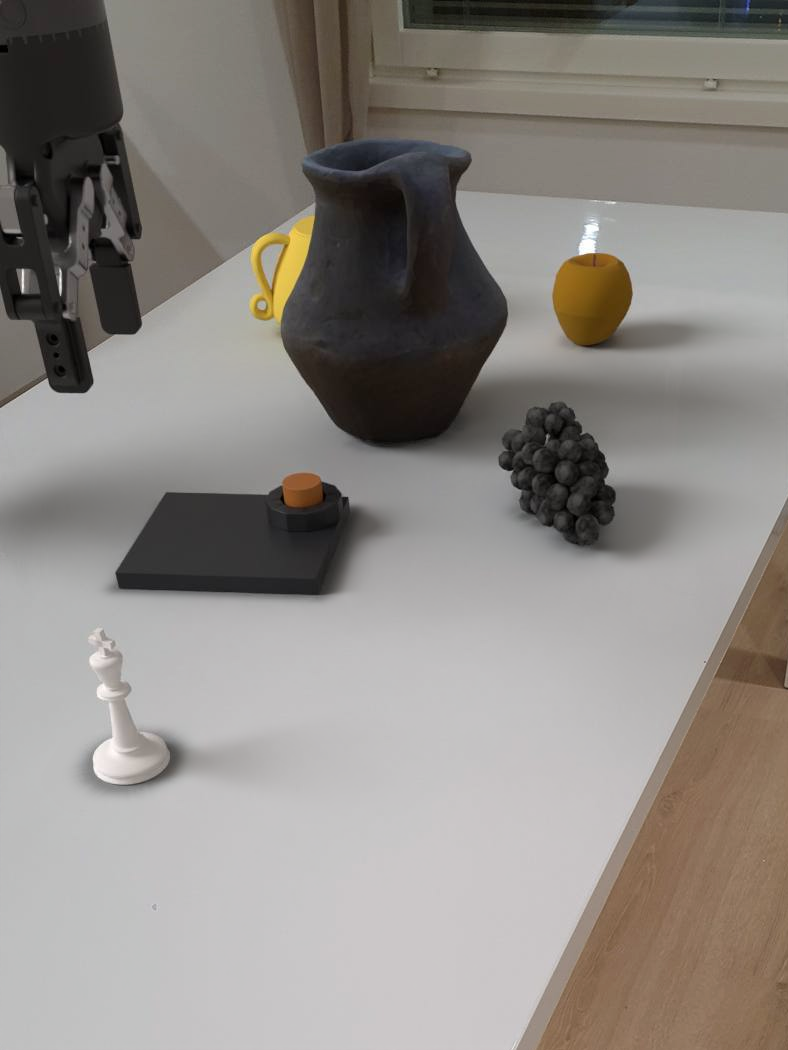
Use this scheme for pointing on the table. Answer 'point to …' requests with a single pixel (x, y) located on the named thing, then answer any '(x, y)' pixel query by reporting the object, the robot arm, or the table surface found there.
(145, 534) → the scale
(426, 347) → the pitcher
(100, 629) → the chess piece
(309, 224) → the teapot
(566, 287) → the apple
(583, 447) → the fruit
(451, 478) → the table surface
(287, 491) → the button
